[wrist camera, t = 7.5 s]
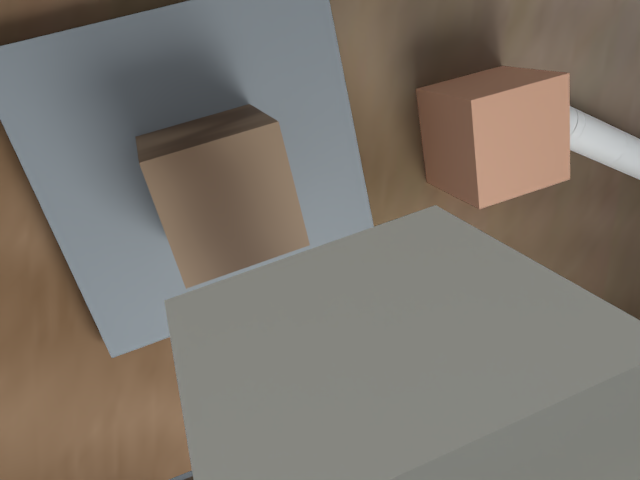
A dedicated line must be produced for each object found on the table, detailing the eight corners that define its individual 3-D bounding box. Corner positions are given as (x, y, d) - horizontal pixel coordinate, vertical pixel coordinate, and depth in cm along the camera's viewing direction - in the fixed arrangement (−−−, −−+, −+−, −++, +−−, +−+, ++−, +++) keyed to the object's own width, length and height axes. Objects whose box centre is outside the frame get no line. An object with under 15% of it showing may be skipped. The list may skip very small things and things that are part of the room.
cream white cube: (435, 205, 10) (682, 344, 6) (465, 413, 12) (662, 635, 8) (163, 299, 9) (207, 564, 5) (247, 510, 11) (331, 830, 7)
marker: (506, 124, 31) (534, 131, 28) (522, 87, 30) (552, 92, 28) (703, 209, 38) (737, 219, 36) (719, 180, 37) (754, 189, 35)
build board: (314, -30, 24) (322, -32, 23) (371, 251, 30) (380, 259, 29) (-23, 52, 21) (-31, 53, 20) (112, 345, 27) (111, 358, 26)
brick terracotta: (500, 65, 29) (569, 73, 25) (505, 157, 31) (569, 179, 27) (414, 88, 28) (470, 100, 23) (426, 182, 30) (479, 209, 26)
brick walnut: (249, 103, 24) (278, 121, 20) (278, 208, 26) (310, 245, 22) (135, 136, 23) (138, 162, 19) (174, 242, 25) (185, 288, 21)
